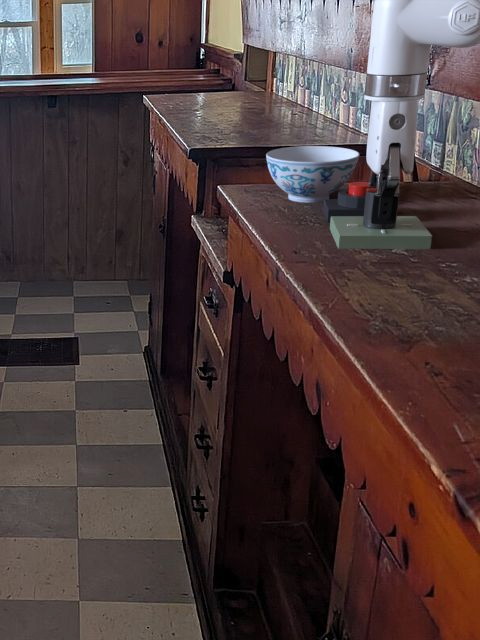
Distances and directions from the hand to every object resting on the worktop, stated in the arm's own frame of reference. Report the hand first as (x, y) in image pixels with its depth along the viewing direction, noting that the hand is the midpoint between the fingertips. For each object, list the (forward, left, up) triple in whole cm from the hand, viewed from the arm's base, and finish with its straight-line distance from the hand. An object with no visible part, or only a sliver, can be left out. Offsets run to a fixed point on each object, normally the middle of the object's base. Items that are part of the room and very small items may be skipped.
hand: (379, 217), depth 124 cm
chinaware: (+7, -26, -3) cm, 27 cm away
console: (0, 0, -3) cm, 3 cm away
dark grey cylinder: (0, 0, -1) cm, 1 cm away
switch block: (+1, -12, -3) cm, 13 cm away
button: (+1, -12, 0) cm, 13 cm away
